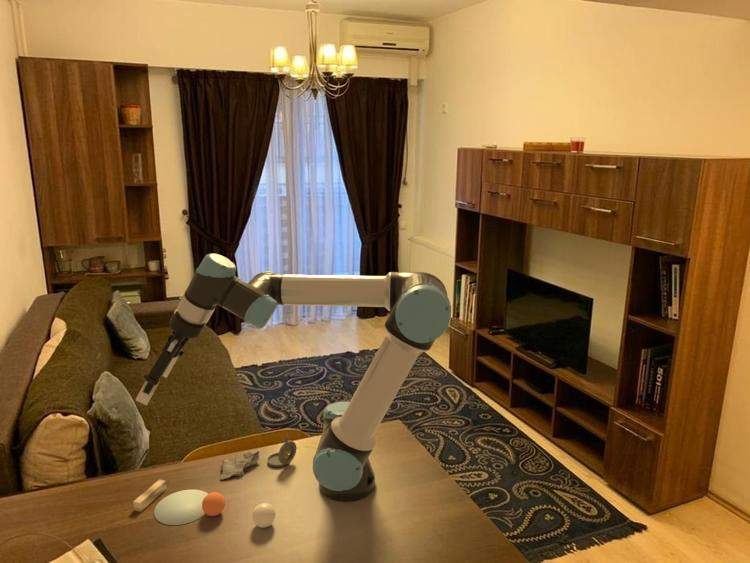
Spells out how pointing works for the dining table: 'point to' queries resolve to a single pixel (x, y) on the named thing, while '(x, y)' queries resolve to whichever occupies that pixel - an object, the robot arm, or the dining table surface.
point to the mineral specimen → (238, 464)
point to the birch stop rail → (149, 495)
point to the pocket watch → (283, 454)
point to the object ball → (213, 504)
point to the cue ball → (263, 515)
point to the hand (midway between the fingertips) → (152, 387)
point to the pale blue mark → (180, 507)
